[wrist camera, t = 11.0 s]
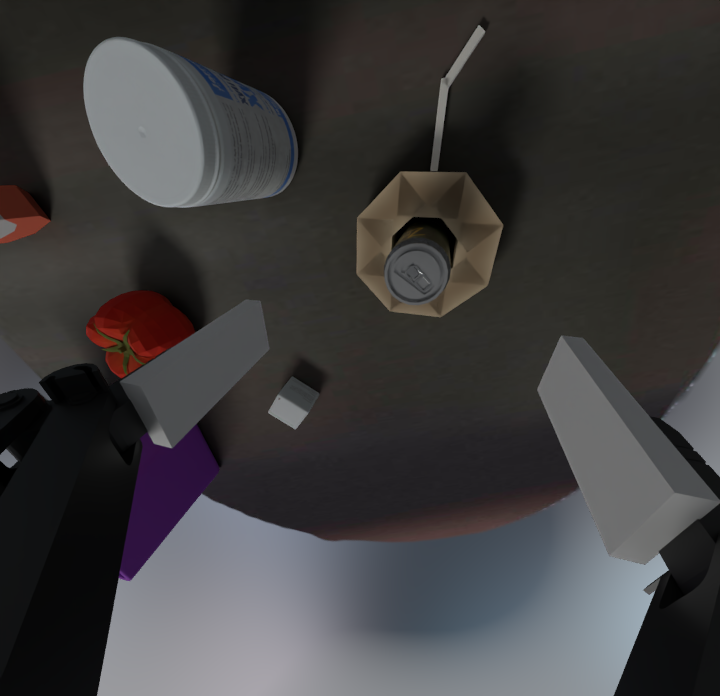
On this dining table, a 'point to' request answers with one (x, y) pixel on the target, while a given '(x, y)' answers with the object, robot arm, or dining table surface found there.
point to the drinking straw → (443, 94)
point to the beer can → (419, 264)
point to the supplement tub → (185, 128)
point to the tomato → (137, 329)
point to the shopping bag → (164, 494)
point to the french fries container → (19, 214)
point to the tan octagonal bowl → (434, 200)
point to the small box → (293, 402)
